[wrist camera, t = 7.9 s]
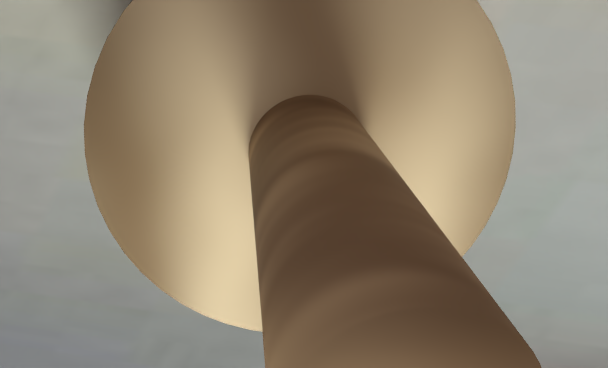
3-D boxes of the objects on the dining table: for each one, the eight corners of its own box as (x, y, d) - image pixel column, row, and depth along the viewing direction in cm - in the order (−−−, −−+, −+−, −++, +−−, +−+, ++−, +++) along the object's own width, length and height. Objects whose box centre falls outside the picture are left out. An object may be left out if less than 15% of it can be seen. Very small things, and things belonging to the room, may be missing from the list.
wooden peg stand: (168, 355, 21) (95, 810, 10) (21, -19, 16) (-462, 46, 5) (516, 265, 21) (830, 608, 10) (480, -131, 16) (1016, -310, 5)
